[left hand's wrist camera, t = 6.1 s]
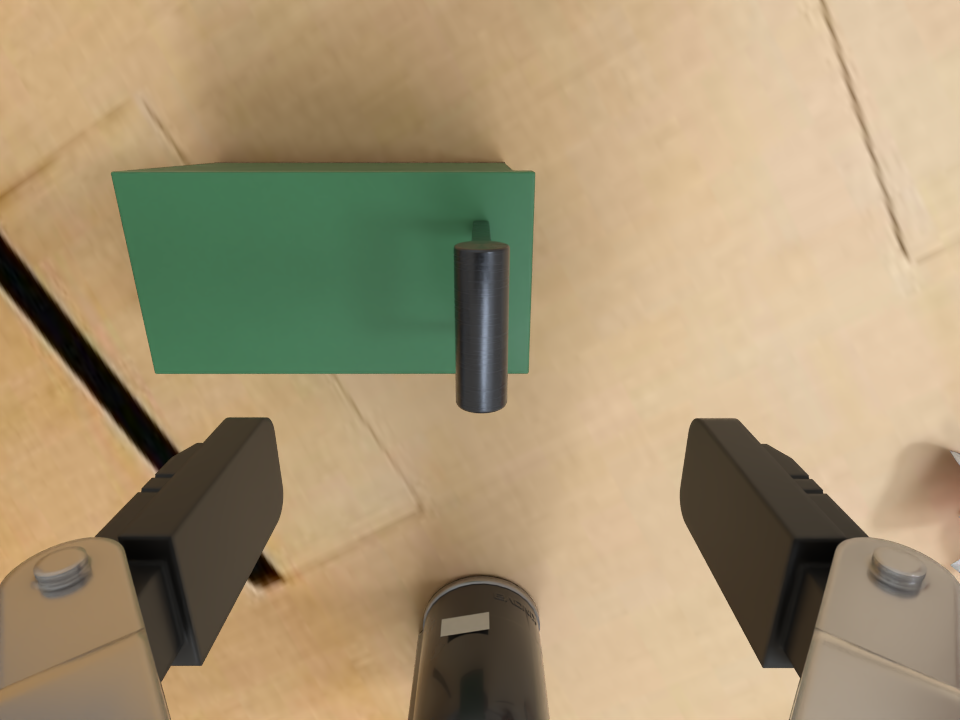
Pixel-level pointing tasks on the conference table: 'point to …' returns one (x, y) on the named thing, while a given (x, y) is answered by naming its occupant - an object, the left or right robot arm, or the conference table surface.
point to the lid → (335, 273)
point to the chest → (339, 166)
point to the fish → (959, 564)
